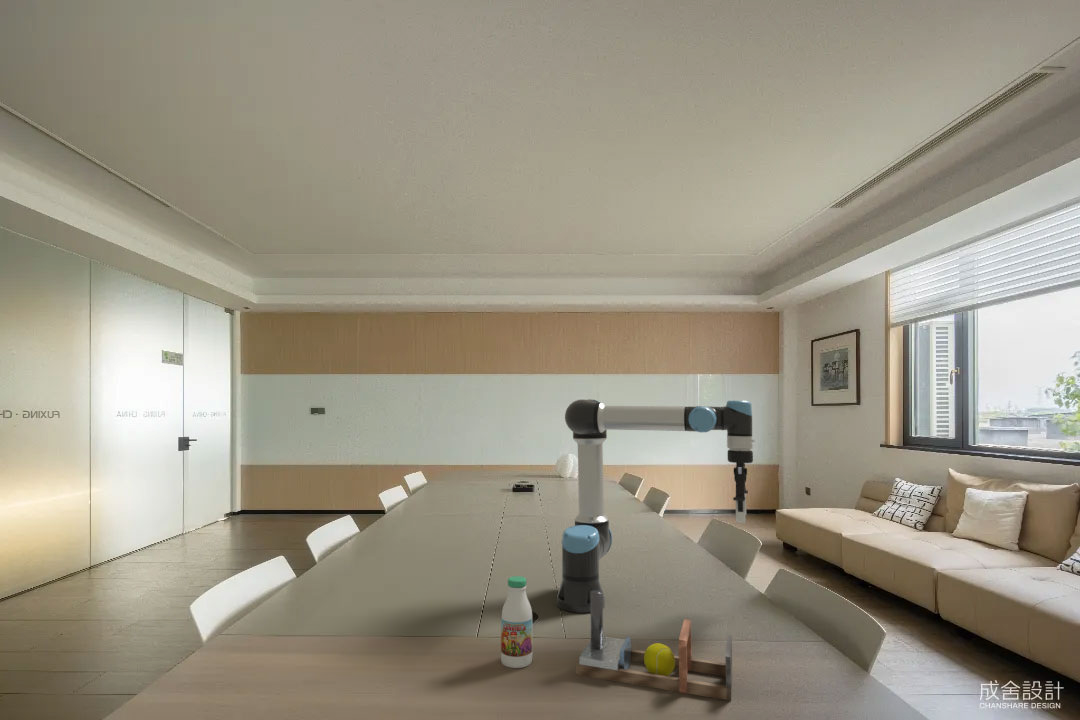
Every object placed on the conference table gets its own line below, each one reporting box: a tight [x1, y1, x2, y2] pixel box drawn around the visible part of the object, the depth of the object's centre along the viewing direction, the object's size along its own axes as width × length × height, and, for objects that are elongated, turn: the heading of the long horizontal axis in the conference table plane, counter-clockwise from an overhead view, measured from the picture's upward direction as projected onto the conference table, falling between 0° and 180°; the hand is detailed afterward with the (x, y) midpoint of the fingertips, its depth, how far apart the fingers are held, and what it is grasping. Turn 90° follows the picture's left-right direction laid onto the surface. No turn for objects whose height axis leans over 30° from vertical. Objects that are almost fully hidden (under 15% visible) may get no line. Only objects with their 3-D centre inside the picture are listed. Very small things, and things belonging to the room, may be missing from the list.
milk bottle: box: [500, 575, 533, 669], centre depth 140 cm, size 8×8×20 cm
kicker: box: [578, 590, 632, 670], centre depth 138 cm, size 10×14×17 cm
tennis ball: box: [643, 642, 675, 676], centre depth 133 cm, size 7×7×7 cm
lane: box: [575, 619, 733, 701], centre depth 133 cm, size 34×13×11 cm, turn 70°
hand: (741, 518), depth 177 cm, fingers open, 13 cm apart
